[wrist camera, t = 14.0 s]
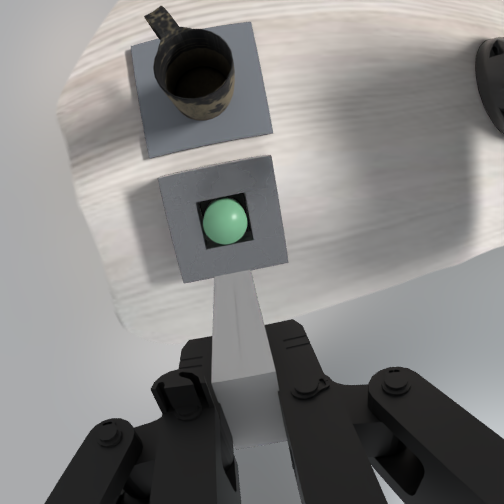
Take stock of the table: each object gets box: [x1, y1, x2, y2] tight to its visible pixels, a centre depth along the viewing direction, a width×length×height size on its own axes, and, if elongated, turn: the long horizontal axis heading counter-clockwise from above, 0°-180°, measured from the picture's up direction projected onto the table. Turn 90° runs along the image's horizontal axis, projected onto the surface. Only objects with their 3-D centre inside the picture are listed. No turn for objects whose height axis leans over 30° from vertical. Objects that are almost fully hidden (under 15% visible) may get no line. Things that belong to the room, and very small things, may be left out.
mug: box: [144, 6, 235, 121], centre depth 21 cm, size 8×6×12 cm
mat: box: [131, 22, 273, 158], centre depth 27 cm, size 12×12×1 cm
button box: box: [158, 155, 288, 283], centre depth 30 cm, size 10×10×4 cm
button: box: [203, 197, 247, 244], centre depth 29 cm, size 4×4×3 cm
